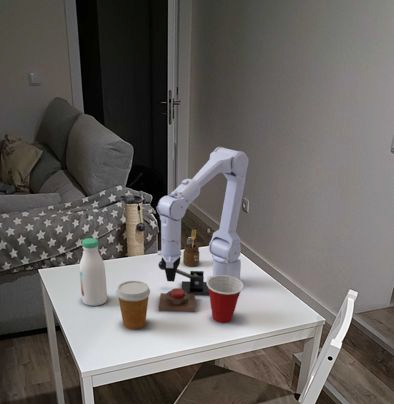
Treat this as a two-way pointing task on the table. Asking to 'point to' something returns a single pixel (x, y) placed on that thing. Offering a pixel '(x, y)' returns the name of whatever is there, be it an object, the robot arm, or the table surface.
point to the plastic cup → (223, 296)
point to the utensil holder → (191, 253)
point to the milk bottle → (92, 274)
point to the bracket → (196, 284)
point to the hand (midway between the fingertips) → (170, 280)
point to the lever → (178, 271)
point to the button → (177, 293)
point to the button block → (177, 303)
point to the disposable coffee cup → (133, 303)
